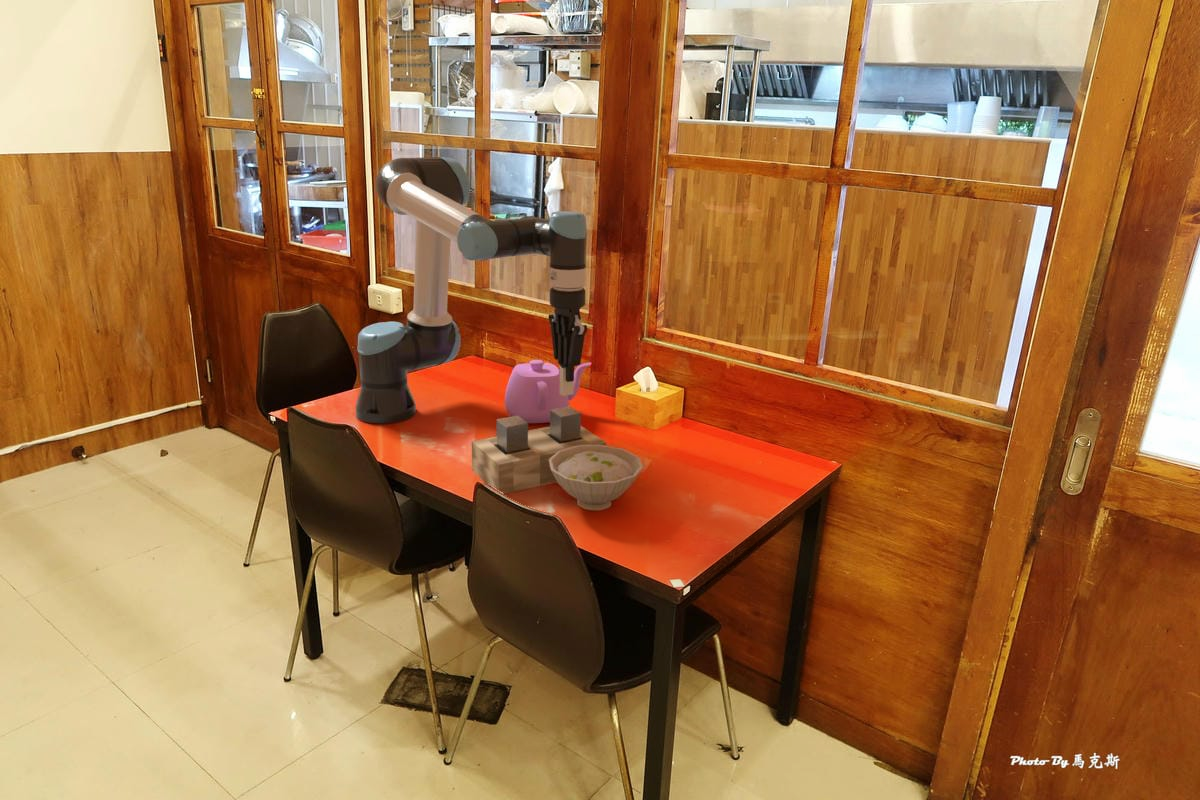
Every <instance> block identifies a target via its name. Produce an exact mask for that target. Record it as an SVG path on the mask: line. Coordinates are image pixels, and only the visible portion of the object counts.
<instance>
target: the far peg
mask: <svg viewBox="0 0 1200 800" xmlns="http://www.w3.org/2000/svg"><path fill="white" fill-rule="evenodd" d="M581 420H582V413H581V412H580V411H578V410H576V409H575V408H573V407H572V406H570V405H569V407H563V408H558V409H552V410H550V422H549V427H550V437H551V438H552V439H554V440H555V441H556V442H558V443H559V444H562V443H567V442H571V441H576V440H580V431H581V426H582V423H581V422H582V421H581Z"/></svg>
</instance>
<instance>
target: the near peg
mask: <svg viewBox="0 0 1200 800" xmlns="http://www.w3.org/2000/svg"><path fill="white" fill-rule="evenodd" d="M528 431H529V423H527V422H526V421H524V420H523V419H522V418H520V417H519V416H512V417H511V416H508V417H501V418H497V419H496V437H497V448H498V449H500V450H501V451H502V452H503V453H504V454H506V455H507V454H512V453H517V452H522V451H527V450H528Z"/></svg>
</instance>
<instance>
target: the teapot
mask: <svg viewBox="0 0 1200 800" xmlns="http://www.w3.org/2000/svg"><path fill="white" fill-rule="evenodd" d="M590 365H592V362H586V363H580V365H578V366H576V367H575V369H574V394H571V395H565V396H562V395H561V394H560V368H558V367H557V366H556V365H555V364H553V363H550V362H545V361H544V360H541V359H532V360H530V361H529V363H528V362H526V363H518V364H516V365H515V366H514V368H513V369H512V372H511V374H510V377H509V380H508V381H507V385H506V389H505V392H504V393H505V394H504V406H505V409H506V411H507V413H508V414H509V417H512V416H519V417H520V418H522V419H523V420H524V421H526V422H527V423H528V424H545V423H546V424H547V423H550V410H552V409H558V408H563V407H569V406H570V403H569V402H570V401H572V400H573V399H574V398H575V397H576V396H577V394H578V392H579V389H580V386H581V379H582V375H583V373H584V371H585V370H586V368H587V367H589V366H590Z"/></svg>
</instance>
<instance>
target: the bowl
mask: <svg viewBox="0 0 1200 800" xmlns="http://www.w3.org/2000/svg"><path fill="white" fill-rule="evenodd" d="M549 464H550V468H551V471H552V473H553V475H554V477H555V479H556V481H557V482H556V483H558V485H559V486H560V487H561V488H562V489H563V490H564V491H565V492H566V493H567V494H568V495H570V496H572V497H573V498H574V499H576V500H577V506H579V507H580V508H581V509H584V510H589V511H604V510H606V509H608V508H610V507H611V505H612V501H614V500H616V499H619V497H620V496H621V495H622V494H624V493H626V491H627V490H628V489H629V488H630V487H631V486H632V485H633V483H634V482H635V481H636V479H637V478H638V476H639V475H640V473H641V471H642V470H643V468H644V465H643V463H642V460H641V459H640V457H639V456H638V455H636V454H634V453H632V452H630V451H628V450H626V449H625V448H621V447H616V446H615V447H614V446H611V445H610V446H609V445H606V446H605V445H578V446H574V447H570V448H567V449H563V450H559V451H558V452H557V453H555V454H554V455H553V456H552V457H551V458H550V459H549Z"/></svg>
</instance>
